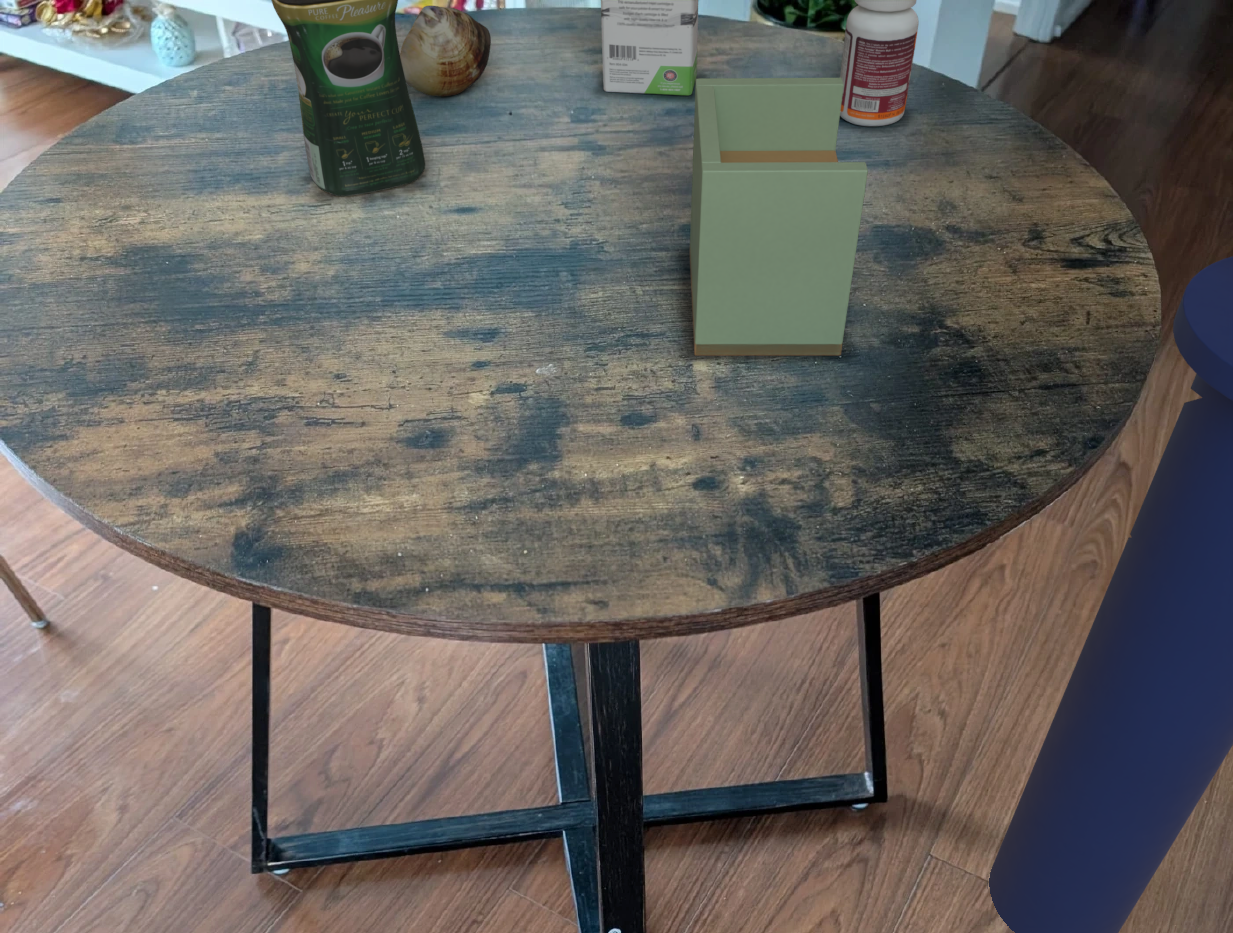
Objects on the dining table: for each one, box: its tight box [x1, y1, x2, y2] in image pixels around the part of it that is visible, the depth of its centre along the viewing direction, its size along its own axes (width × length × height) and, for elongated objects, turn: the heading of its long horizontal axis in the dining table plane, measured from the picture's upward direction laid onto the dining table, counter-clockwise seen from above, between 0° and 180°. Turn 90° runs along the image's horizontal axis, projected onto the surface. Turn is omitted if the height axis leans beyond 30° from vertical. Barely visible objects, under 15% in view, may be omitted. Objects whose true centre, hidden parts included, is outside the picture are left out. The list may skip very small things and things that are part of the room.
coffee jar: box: [271, 0, 426, 197], centre depth 92 cm, size 10×8×19 cm
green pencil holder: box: [689, 77, 869, 356], centre depth 79 cm, size 10×14×13 cm
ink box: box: [600, 0, 699, 96], centre depth 107 cm, size 9×5×12 cm, turn 80°
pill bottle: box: [839, 0, 919, 127], centre depth 102 cm, size 6×6×11 cm
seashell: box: [400, 5, 492, 97], centre depth 107 cm, size 10×6×8 cm, turn 127°
